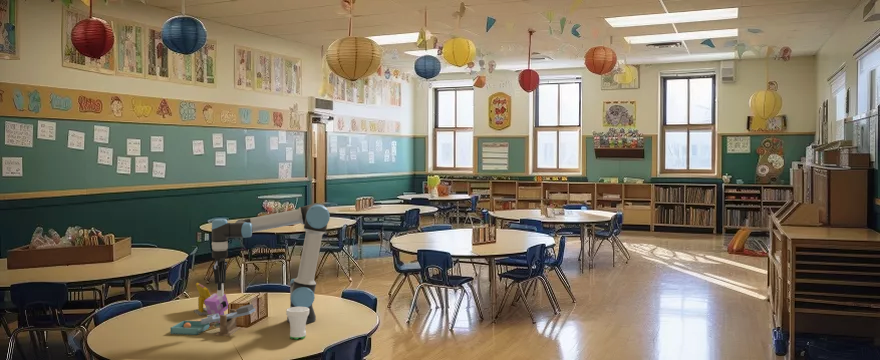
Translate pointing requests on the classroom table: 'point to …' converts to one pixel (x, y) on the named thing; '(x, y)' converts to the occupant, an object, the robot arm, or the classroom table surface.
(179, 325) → the tray
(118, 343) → the classroom table surface
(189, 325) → the ball
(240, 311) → the lever
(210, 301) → the toy
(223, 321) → the fulcrum
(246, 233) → the robot arm
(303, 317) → the cup
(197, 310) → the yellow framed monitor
